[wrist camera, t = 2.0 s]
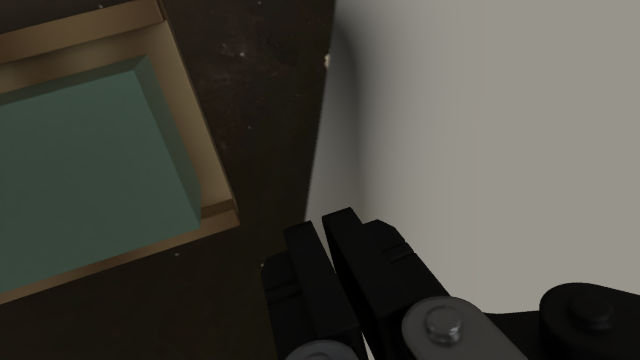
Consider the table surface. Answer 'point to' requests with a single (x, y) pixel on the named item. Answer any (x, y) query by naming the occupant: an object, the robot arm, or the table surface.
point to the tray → (166, 58)
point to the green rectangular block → (90, 171)
